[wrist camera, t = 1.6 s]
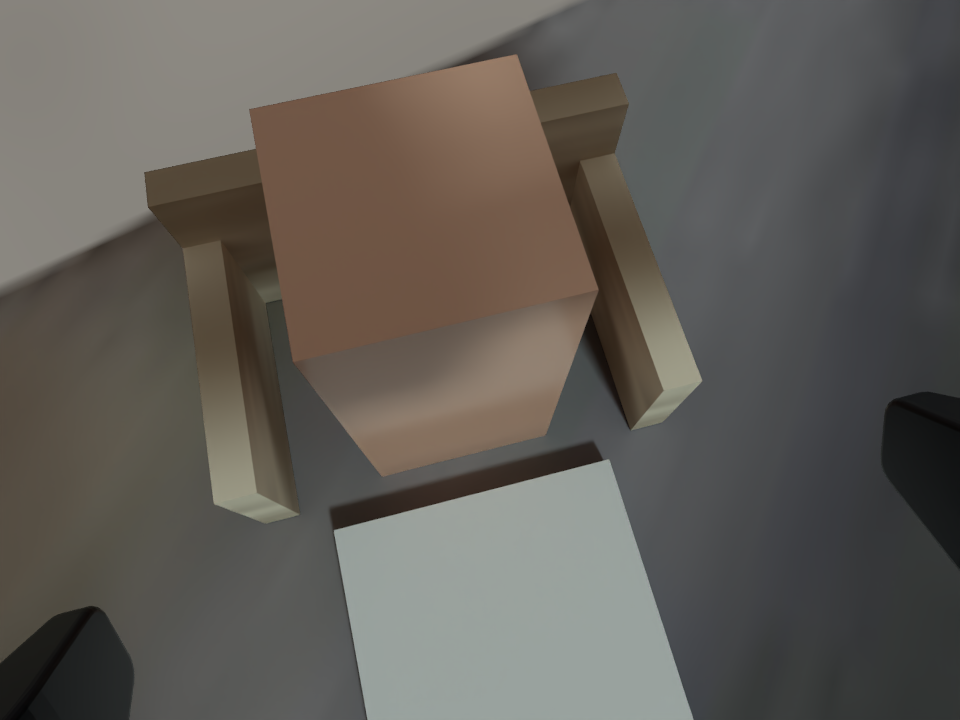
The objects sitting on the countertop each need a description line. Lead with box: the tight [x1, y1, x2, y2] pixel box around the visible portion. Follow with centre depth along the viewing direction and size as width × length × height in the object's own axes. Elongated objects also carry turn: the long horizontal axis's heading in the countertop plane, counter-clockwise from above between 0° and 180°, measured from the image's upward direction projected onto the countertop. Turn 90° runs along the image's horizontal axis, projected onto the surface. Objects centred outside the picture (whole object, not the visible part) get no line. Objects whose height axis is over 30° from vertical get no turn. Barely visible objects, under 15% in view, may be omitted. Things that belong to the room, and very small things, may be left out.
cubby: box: [144, 73, 702, 524], centre depth 19 cm, size 8×12×6 cm, turn 104°
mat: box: [334, 459, 693, 720], centre depth 18 cm, size 8×8×1 cm
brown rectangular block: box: [250, 54, 599, 477], centre depth 16 cm, size 5×5×10 cm
